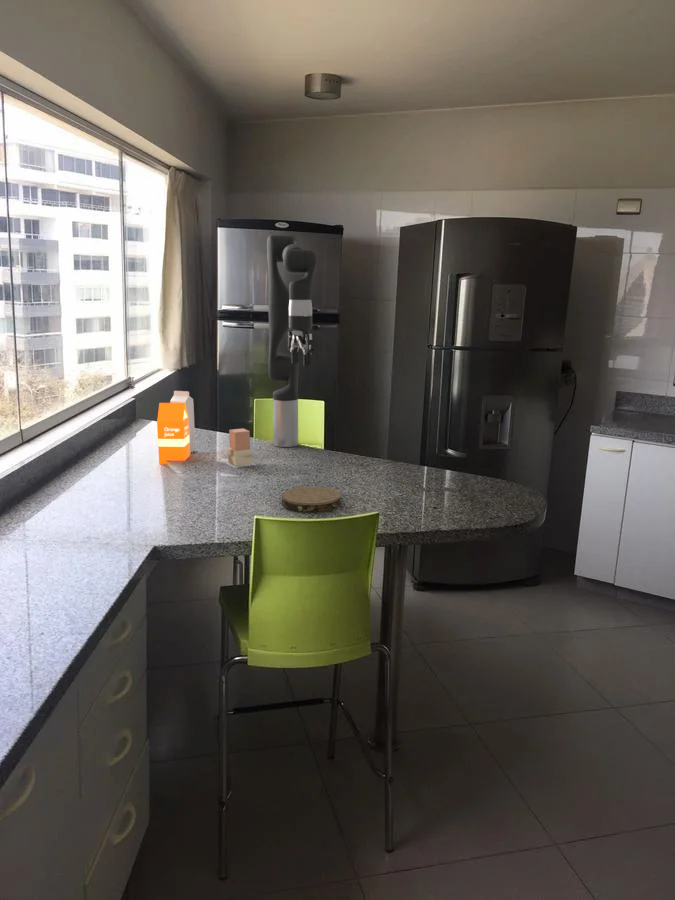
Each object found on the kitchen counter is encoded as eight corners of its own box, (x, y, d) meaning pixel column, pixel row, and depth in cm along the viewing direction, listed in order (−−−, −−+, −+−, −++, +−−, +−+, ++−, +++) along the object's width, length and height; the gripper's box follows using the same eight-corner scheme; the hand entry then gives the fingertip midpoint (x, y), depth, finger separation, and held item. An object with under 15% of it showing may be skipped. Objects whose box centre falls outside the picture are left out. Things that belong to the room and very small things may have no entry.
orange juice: (185, 464, 238) (182, 405, 233) (158, 464, 238) (155, 404, 234) (190, 458, 246) (187, 401, 241) (164, 458, 246) (161, 400, 241)
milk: (180, 450, 258) (177, 389, 253) (195, 451, 257) (193, 390, 252) (172, 453, 253) (169, 391, 248) (187, 454, 251) (184, 392, 246)
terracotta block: (229, 447, 234) (229, 429, 233) (243, 446, 236) (243, 428, 235) (235, 450, 230) (235, 432, 228) (250, 449, 232) (249, 431, 231)
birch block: (228, 462, 235) (227, 447, 234) (245, 460, 238) (244, 445, 237) (235, 466, 230) (234, 451, 229) (252, 464, 233) (252, 449, 232)
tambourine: (352, 505, 196) (352, 495, 195) (308, 518, 185) (308, 507, 184) (313, 493, 207) (313, 483, 206) (270, 504, 196) (270, 494, 196)
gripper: (280, 313, 233) (280, 363, 236) (300, 315, 221) (300, 367, 224) (300, 313, 236) (301, 362, 240) (321, 314, 224) (321, 366, 228)
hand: (300, 364), depth 232 cm, fingers open, 8 cm apart
